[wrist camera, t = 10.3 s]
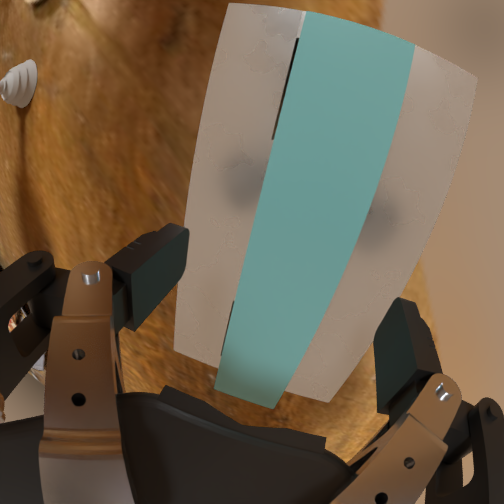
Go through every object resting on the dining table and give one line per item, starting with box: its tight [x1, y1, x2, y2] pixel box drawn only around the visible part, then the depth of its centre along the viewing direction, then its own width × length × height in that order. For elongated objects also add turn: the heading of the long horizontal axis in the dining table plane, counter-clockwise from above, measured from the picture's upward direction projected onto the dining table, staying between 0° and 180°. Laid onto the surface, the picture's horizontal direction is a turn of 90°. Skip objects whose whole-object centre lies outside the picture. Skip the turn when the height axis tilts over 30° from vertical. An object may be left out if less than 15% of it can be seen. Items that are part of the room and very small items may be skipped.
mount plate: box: [174, 3, 478, 403], centre depth 15 cm, size 22×12×3 cm, turn 167°
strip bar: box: [214, 11, 415, 409], centre depth 14 cm, size 20×4×5 cm, turn 167°
